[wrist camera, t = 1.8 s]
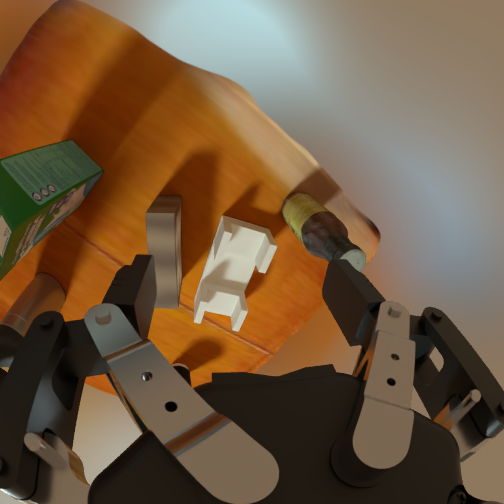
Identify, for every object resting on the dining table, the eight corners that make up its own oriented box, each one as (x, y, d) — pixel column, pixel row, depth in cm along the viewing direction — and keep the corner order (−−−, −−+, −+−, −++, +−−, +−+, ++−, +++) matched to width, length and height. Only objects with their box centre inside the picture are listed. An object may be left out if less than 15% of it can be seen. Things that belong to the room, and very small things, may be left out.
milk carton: (71, 138, 35) (-34, 171, 13) (104, 171, 39) (13, 229, 16) (46, 178, 37) (-48, 235, 15) (77, 209, 40) (-5, 287, 18)
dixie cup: (171, 379, 63) (169, 414, 54) (158, 362, 59) (153, 398, 50) (199, 375, 63) (200, 410, 54) (187, 356, 60) (186, 393, 50)
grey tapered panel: (182, 278, 50) (178, 308, 42) (161, 278, 49) (154, 307, 41) (181, 195, 43) (174, 213, 35) (157, 195, 42) (145, 212, 34)
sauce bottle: (274, 218, 47) (312, 281, 29) (289, 185, 44) (338, 231, 27) (306, 229, 49) (355, 293, 31) (321, 198, 46) (381, 249, 29)
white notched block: (235, 307, 55) (239, 331, 48) (194, 298, 52) (193, 322, 46) (269, 229, 48) (278, 246, 41) (222, 214, 45) (223, 230, 39)
